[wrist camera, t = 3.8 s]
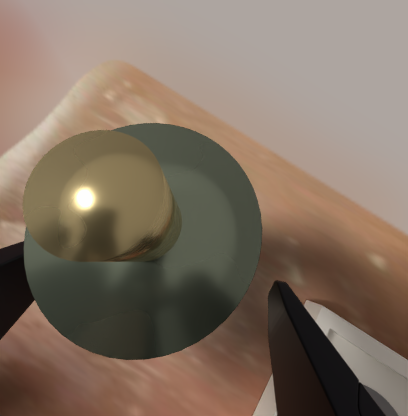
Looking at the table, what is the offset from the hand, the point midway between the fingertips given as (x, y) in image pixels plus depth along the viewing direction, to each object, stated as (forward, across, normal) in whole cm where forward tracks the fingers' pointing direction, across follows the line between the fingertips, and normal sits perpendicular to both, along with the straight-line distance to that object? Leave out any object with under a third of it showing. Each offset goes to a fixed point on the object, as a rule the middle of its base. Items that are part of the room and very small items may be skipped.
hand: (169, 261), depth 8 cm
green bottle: (+6, 0, +5) cm, 8 cm away
